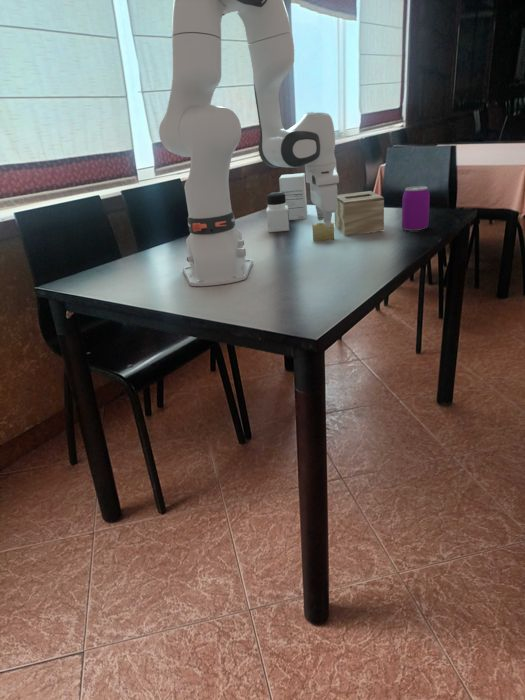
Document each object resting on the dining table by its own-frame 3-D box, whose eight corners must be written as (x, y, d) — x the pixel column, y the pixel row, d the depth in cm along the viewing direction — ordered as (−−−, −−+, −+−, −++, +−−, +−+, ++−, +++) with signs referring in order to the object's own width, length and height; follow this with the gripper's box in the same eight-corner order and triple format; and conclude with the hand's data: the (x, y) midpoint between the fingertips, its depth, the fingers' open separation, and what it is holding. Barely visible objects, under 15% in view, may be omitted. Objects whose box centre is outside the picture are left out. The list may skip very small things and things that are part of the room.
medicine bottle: (289, 230, 164) (286, 193, 159) (268, 232, 164) (264, 195, 159) (289, 226, 170) (286, 190, 165) (268, 228, 171) (265, 192, 166)
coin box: (383, 231, 150) (383, 197, 146) (345, 235, 150) (344, 202, 146) (370, 222, 163) (370, 190, 159) (335, 226, 163) (333, 195, 158)
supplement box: (284, 215, 188) (280, 174, 181) (307, 214, 186) (305, 172, 180) (281, 220, 180) (278, 178, 173) (306, 219, 178) (303, 175, 172)
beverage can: (426, 225, 152) (428, 184, 146) (429, 231, 145) (431, 188, 140) (400, 226, 153) (401, 186, 148) (402, 232, 146) (403, 191, 141)
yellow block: (334, 240, 147) (333, 223, 145) (314, 242, 147) (313, 225, 145) (332, 238, 149) (332, 221, 147) (313, 240, 149) (312, 224, 147)
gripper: (303, 171, 149) (307, 217, 156) (317, 180, 131) (320, 232, 137) (324, 168, 150) (327, 214, 156) (340, 177, 131) (342, 228, 138)
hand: (324, 223), depth 146 cm, fingers open, 8 cm apart
